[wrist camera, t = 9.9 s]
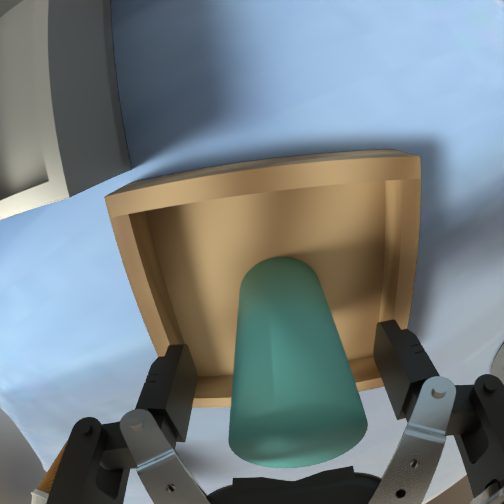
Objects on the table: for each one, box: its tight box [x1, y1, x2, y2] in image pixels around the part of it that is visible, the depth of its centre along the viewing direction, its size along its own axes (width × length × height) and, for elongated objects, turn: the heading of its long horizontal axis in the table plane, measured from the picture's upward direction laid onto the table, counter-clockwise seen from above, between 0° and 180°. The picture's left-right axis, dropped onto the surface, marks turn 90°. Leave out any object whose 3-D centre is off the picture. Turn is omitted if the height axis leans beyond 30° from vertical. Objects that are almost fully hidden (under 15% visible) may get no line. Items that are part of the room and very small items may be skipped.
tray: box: [104, 149, 421, 407], centre depth 16 cm, size 14×14×3 cm
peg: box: [229, 257, 368, 468], centre depth 12 cm, size 4×4×9 cm
